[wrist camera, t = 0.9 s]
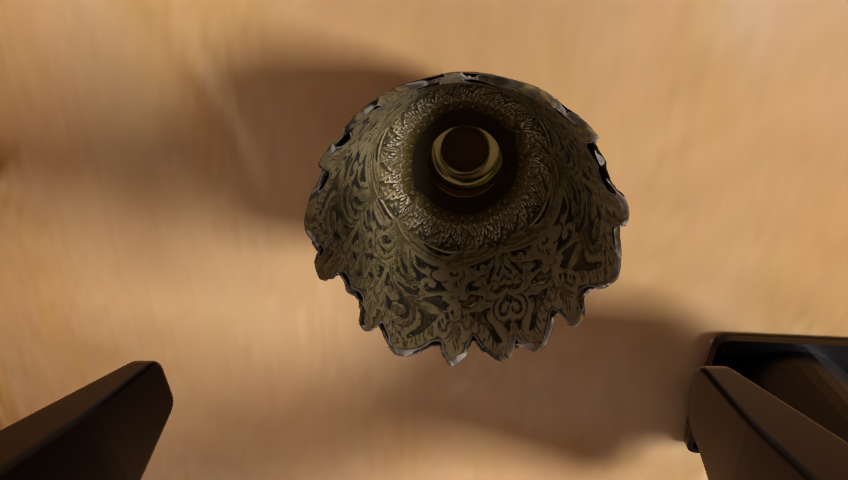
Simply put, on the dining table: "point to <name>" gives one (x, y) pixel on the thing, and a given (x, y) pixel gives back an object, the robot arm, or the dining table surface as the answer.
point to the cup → (466, 217)
